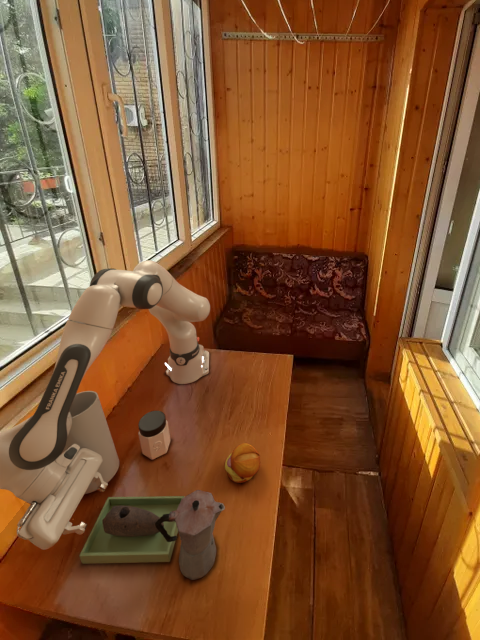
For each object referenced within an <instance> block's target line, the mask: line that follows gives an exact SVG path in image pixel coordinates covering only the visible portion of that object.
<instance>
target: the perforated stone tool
mask: <svg viewBox="0 0 480 640" xmlns="http://www.w3.org/2000/svg"><path fill="white" fill-rule="evenodd" d="M158 519H160V517H158V516H157V515H155V514H154V513H152V512H150V511H147V510H144V509H141V508H137V507H132V506H122V505H119V506H113V507H112V509H111V510H110V511H109V512H108V513H107V515H106V516H105V518H104V519H103V520H102V523H103V528H104V531H105V533H107V534H111V535H115V536H121V537H140V536H149V535H153V534H156V533H158V532H160V531H158V529H157V528H156V526H155V522H156V521H158ZM161 524H162V525H163V526H164V523H161Z"/></svg>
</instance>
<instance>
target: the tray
mask: <svg viewBox="0 0 480 640" xmlns="http://www.w3.org/2000/svg"><path fill="white" fill-rule="evenodd" d="M184 497H185V495H165V496H164V495H163V496H162V495H158V496H157V495H156V496H154V495H153V496H151V495H150V496H108V497H107V498H106V500H105V503H104V504H103V507H102V508H101V510H100V513H99V515H98V517H97V519H96V521H95V523H94V525H93V527H92V529H91V531H90V533H89V535H88V537H87V539H86V541H85V543H84V545H83V547H82V549H81V552H80V553H79V554H78V555H79V556H78V558H79V559H80V561H81V564H83V565H84V564H130V563H138V564H139V563H170V562H171V559H172V555H173V552H174V548H175V543H176V541H172V542H167V541H166V539H165V538H164V537H163V535H162V534H161V533H160V532H158V533H156V534H153V535H149V536H140V537H121V536H115V535H111V534H107V533H105V531H104V528H103V523H102V520H103V519H104V518H105V516H106V515H107V513H108V512H109V511H110V510H111V509H112V507H113V506H119V505H122V506H132V507H137V508H141V509H144V510H147V511H150V512H152V513H154V514H155V515H157V516H158V517H162V516H163V514H170V512H171V511H176V510H177V508H178V506H179V504H180V502H181V500H182V498H184ZM163 523H164V528H165V530H166V531H167V533H168V534H169V535H170V536H177V537H178V534H179V532H178V528H177V526H176V522H175V521H173V522H163Z"/></svg>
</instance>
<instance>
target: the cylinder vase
mask: <svg viewBox="0 0 480 640" xmlns="http://www.w3.org/2000/svg"><path fill="white" fill-rule="evenodd" d="M69 411H70V413H71V415H72V426H71V429H70V432H69V435H68V437H67V442H66V446H65V448H64V450H63V452H64V451H66V450H67V449H68V448H69V447H70V446H72V445H73V444H77V445H79V446H80V449H82V448H87V449H90V450H92V451H94V452H96V453H98V454H99V455H101V456H102V459H103V461H102V463H101V465H100V467H99V469H98V470H97V472H99V473H100V474H101V476H102V478H103V481H104V482H106V483H109V482H110V481H111V480H112V479H114V476H116V473H117V472H118V471H119V467H120V458H119V456H118V453H117V450H116V447H115V443H114V439H113V437H112V433H111V431H110V428H109V425H108V422H107V418H106V416H105V413H104V409H103V406H102V403H101V400H100V396H99V393H98V392H96V391H93V390H85V391H81V392H77V393H76V395H75V398H74V400H73V403H72V405H71V408H70V410H69ZM80 449H79V450H80ZM63 452H62V453H63ZM62 453H61V454H62ZM97 488H98V486H97V484H96V482H95V481H94V482H91V483H90V485H89V486H88V488H87V490H86V492H85V494H84V495H86V494H91V493H94V492H96V491H98V490H97Z"/></svg>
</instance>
